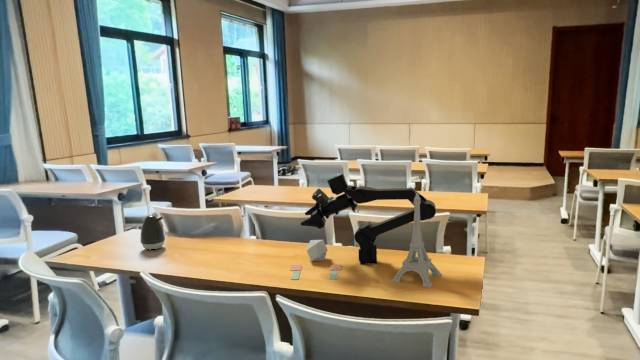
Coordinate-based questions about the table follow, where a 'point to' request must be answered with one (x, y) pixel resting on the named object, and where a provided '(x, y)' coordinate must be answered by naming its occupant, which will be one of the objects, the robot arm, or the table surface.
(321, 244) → the die
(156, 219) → the pump dispenser
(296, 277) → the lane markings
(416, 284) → the table surface
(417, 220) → the eiffel tower
